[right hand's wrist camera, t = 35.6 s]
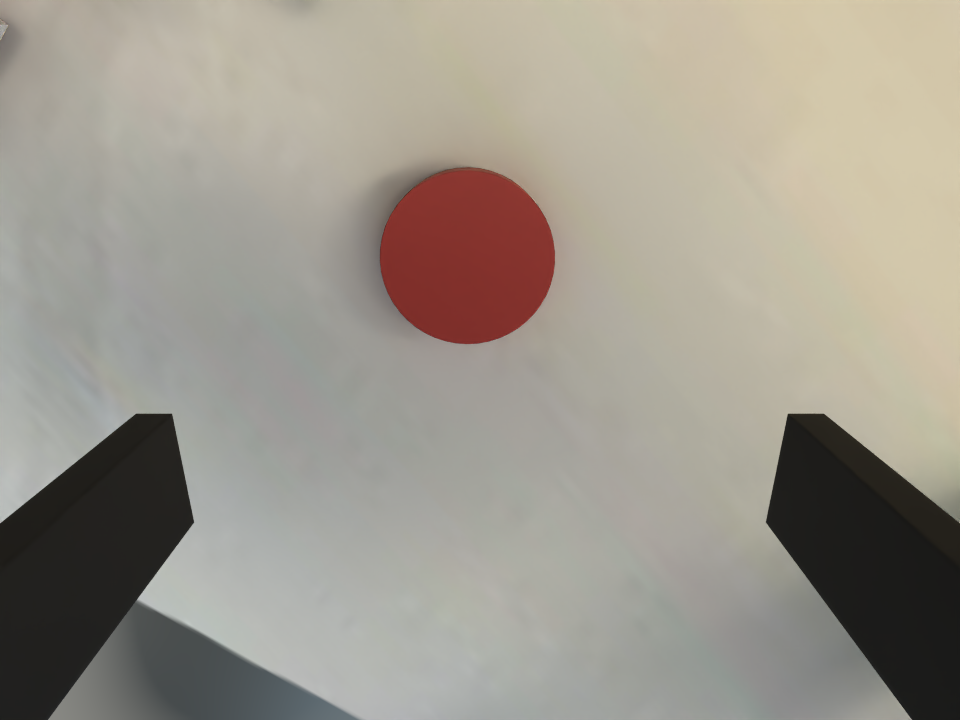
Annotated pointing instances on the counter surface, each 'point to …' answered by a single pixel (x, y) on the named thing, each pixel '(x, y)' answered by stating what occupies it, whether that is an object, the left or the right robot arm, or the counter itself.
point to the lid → (467, 256)
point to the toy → (2, 28)
